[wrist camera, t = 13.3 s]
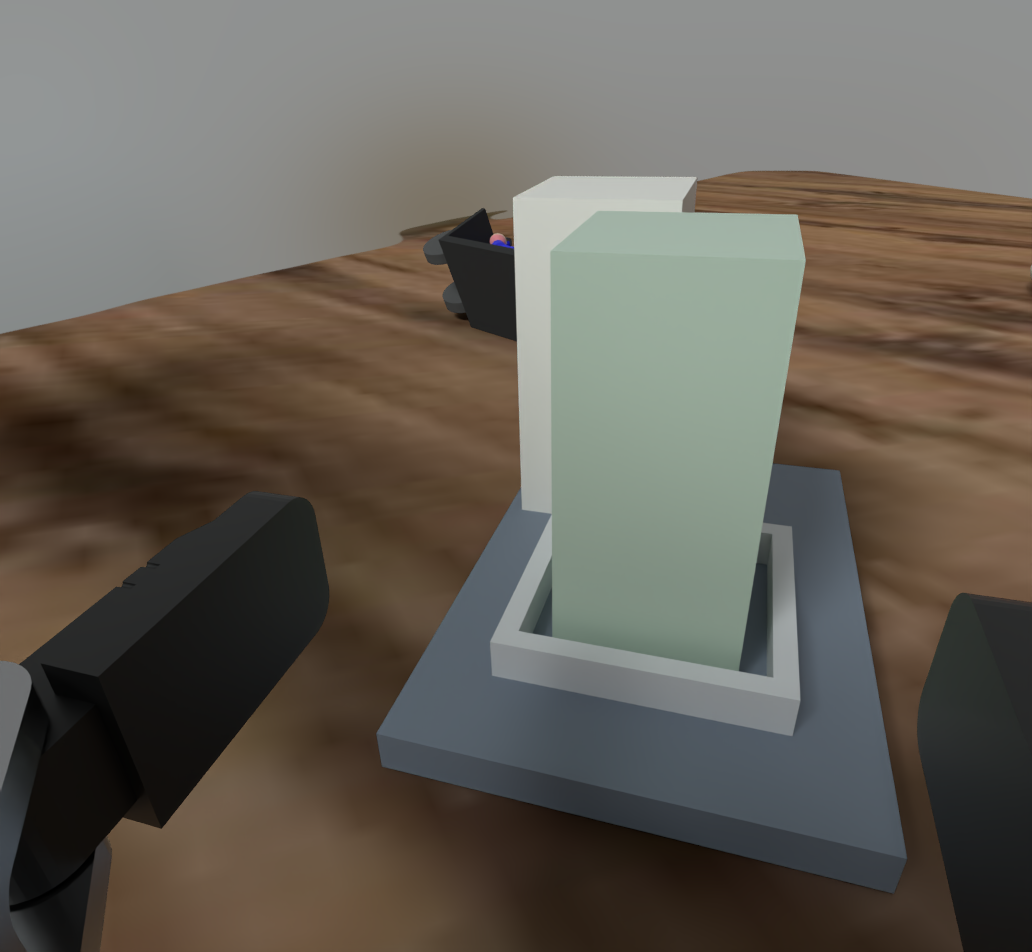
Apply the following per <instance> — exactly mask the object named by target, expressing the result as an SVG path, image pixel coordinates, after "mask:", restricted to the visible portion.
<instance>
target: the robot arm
mask: <svg viewBox="0 0 1032 952" xmlns="http://www.w3.org/2000/svg"><path fill="white" fill-rule="evenodd" d="M328 604H329V584H328V579H327V574H326V569H325V564H324V559H323V553H322V548H321V543H320V538H319V533H318V527H317V522H316V517H315V513H314V509H313V507H312V505H311V504H310V502H309V501H308V500H307V499H305V498H301V497H294V496H287V495H280V494H273V493H266V492H259V491H253V492H250V493H247V494H246V495H244V496H243V497H242V498H241V499H239V500H238V501H237V502H236V503H234V504H233V505H232V506H231V507H230V508H228V509H227V510H226V511H225V512H224V513H222V514H221V515H220V516H219V517H217V518H216V519H215V520H214V521H212V522H210V523H208V524H206V525H204V526H201V527H199V528H197V529H195V530H193V531H191V532H189V533H187V534H185V535H183V536H181V537H179V538H177V539H175V540H174V541H173V542H171V543H170V544H169V545H168V546H166V547H165V548H164V549H163V550H161V551H160V552H159V553H158V554H156V555H155V556H154V557H153V558H151V559H150V560H149V561H148V562H147V566H146V567H140V568H139V569H138V570H136V571H135V572H134V573H133V574H131V575H130V576H129V577H128V578H126V579H125V580H124V581H123V585H122V587H115V588H114V589H113V590H111V591H110V592H109V593H108V594H107V595H105V596H104V597H103V598H102V599H100V600H99V601H98V602H97V603H95V604H94V605H93V606H92V607H90V608H89V609H88V610H87V611H85V612H84V613H83V614H82V615H80V616H79V617H78V618H77V619H75V620H74V621H73V622H72V623H70V624H69V625H68V626H67V627H65V628H64V629H63V630H62V631H60V632H59V633H58V634H57V635H55V636H54V637H53V638H52V639H50V640H49V641H48V642H47V643H45V644H44V645H43V646H42V647H40V648H39V649H38V650H37V651H35V652H34V653H33V654H32V655H30V656H29V657H28V658H27V659H25V660H24V661H23V662H21V663H20V664H19V665H18V664H16V663H12V662H7V661H0V952H100V947H101V939H102V931H103V923H104V915H105V907H106V899H107V891H108V883H109V875H110V867H111V859H112V848H111V844H110V841H109V839H108V837H107V835H108V834H109V833H110V831H111V830H112V829H113V828H114V827H115V826H116V824H117V823H118V822H119V821H120V820H121V819H122V817H124V818H127V819H130V820H134V821H137V822H141V823H144V824H147V825H151V826H154V827H157V828H161V829H162V828H163V826H164V825H165V824H166V823H167V821H168V820H169V819H170V817H171V816H172V815H173V814H174V812H175V811H176V810H177V809H178V807H179V806H180V805H181V804H182V802H183V801H184V800H185V799H186V797H187V796H188V795H189V793H190V792H191V791H192V790H193V788H194V787H195V786H196V785H197V783H198V782H199V781H200V780H201V778H202V777H203V776H204V775H205V773H206V772H207V771H208V770H209V768H210V767H211V766H212V764H213V763H214V762H215V761H216V759H217V758H218V757H219V756H220V754H221V753H222V752H223V751H224V749H225V748H226V747H227V746H228V744H229V743H230V742H231V741H232V739H233V738H234V737H235V735H236V734H237V733H238V732H239V730H240V729H241V728H242V727H243V725H244V724H245V723H246V722H247V720H248V719H249V718H250V717H251V715H252V714H253V713H254V712H255V710H256V709H257V708H258V706H259V705H260V704H261V703H262V701H263V700H264V699H265V698H266V696H267V695H268V694H269V693H270V691H271V690H272V689H273V688H274V686H275V685H276V684H277V682H278V681H279V680H280V679H281V677H282V676H283V675H284V674H285V672H286V671H287V670H288V669H289V667H290V666H291V665H292V664H293V662H294V661H295V660H296V659H297V657H298V656H299V655H300V653H301V652H302V651H303V650H304V648H305V647H306V646H307V645H308V643H309V642H310V641H311V640H312V638H313V637H314V636H315V635H316V633H317V632H318V630H319V629H320V627H321V625H322V623H323V621H324V619H325V616H326V613H327V609H328ZM917 735H918V747H919V753H920V757H921V762H922V766H923V771H924V775H925V780H926V784H927V789H928V793H929V798H930V802H931V807H932V811H933V816H934V820H935V825H936V829H937V834H938V838H939V843H940V847H941V852H942V856H943V861H944V865H945V870H946V874H947V879H948V883H949V888H950V892H951V897H952V901H953V906H954V910H955V915H956V919H957V924H958V928H959V933H960V937H961V941H962V946H963V950H964V952H1032V602H1025V601H1017V600H1010V599H1003V598H996V597H989V596H982V595H975V594H968V593H961V594H959V595H958V596H957V597H956V598H955V600H954V601H953V603H952V605H951V608H950V611H949V614H948V617H947V620H946V623H945V626H944V629H943V632H942V635H941V638H940V641H939V643H938V646H937V649H936V652H935V655H934V658H933V661H932V664H931V667H930V670H929V673H928V676H927V679H926V682H925V685H924V688H923V691H922V695H921V699H920V704H919V710H918V723H917Z"/></svg>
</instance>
